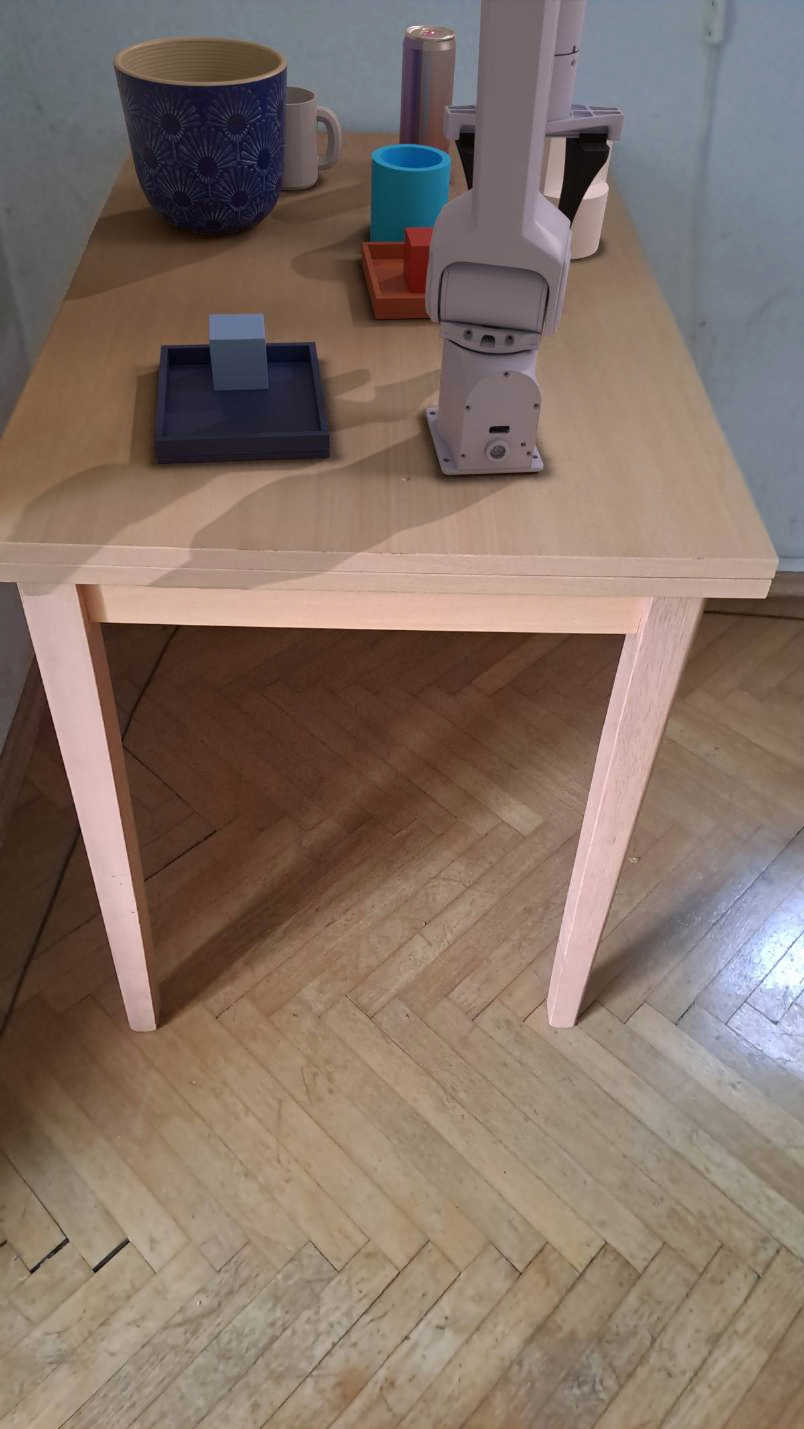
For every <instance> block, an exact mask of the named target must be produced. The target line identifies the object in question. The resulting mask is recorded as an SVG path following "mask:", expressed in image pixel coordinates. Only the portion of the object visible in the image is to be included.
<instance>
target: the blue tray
mask: <svg viewBox="0 0 804 1429" xmlns="http://www.w3.org/2000/svg"><path fill="white" fill-rule="evenodd" d="M159 351H160V353H159V366H158V368H159V369H158V380H157V381H158V382H157V396H156V411H155V412H156V413H155V426H154V442H153V443H154V448H155V452H156V453H155V455H156V461H157V464H179V463H205V462H208V463H209V462H235V461H262V460H263V461H264V460H285V459H286V460H288V459H290V460H291V459H316V458H317V459H318V458H330V457H331V442H330V440H331V438H330V436H331V435H330V428H329V422H328V415H327V409H326V403H325V396H324V390H323V389H324V388H323V384H322V377H321V370H320V364H319V358H318V351H317V345H316V341H297V342H266V357H267V374H268V389H263V390H227V391H214V384H213V374H212V364H211V355H210V345H209V343H204V344H203V343H202V344H200V343H198V344H161V345H160V350H159Z"/></svg>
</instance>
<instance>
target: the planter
mask: <svg viewBox="0 0 804 1429" xmlns="http://www.w3.org/2000/svg"><path fill="white" fill-rule="evenodd" d="M112 64H113V65H112V66H113V69H114V75H115V78H116V83H117V88H118V93H119V98H120V103H121V107H122V112H123V116H124V121H125V128H126V131H127V136H128V141H129V146H130V150H131V155H132V160H133V165H134V169H135V173H136V174H135V175H136V177H137V180H138V184H139V186H140V188H141V191H142V193H143V194H144V196H145V199H146V200H147V202H148V204H149V205H150V207H151V208H152V209H153V210H154V212H156V213H157V215H159V217H161V218H162V220H164V221H165V222H167V223H168V224H170V225H172V226H173V227H176V228H177V229H179V230H182V231H186V232H190V233H194V234H202V235H212V236H213V235H229V234H234V233H239V232H244V231H246V230H250V229H251V228H253V227H256V226H257V225H259V224H261V222H263V221H264V220H266V218H267V217H268V216H270V214H271V212H272V211H273V209H275V207H276V205H277V203H278V201H279V198H280V195H281V192H282V190H281V189H282V185H283V179H284V170H285V139H286V98H287V86H288V60H287V58H286V57H285V55H284V54H283V53H281V52H280V51H279V50H276V49H275V48H273V47H270V46H267V45H265V44H262V43H258V42H254V41H249V40H245V39H239V38H232V37H220V36H200V35H199V36H198V35H197V36H191V35H190V36H174V37H171V36H170V37H163V38H156V39H155V38H154V39H150V40H146V41H144V40H143V41H140V42H137V43H134V44H130V45H129V46H126V47H124V48H122V49H120V50H119V51H118V52H117V53H116V54H115V55H114V57H113V59H112Z"/></svg>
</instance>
